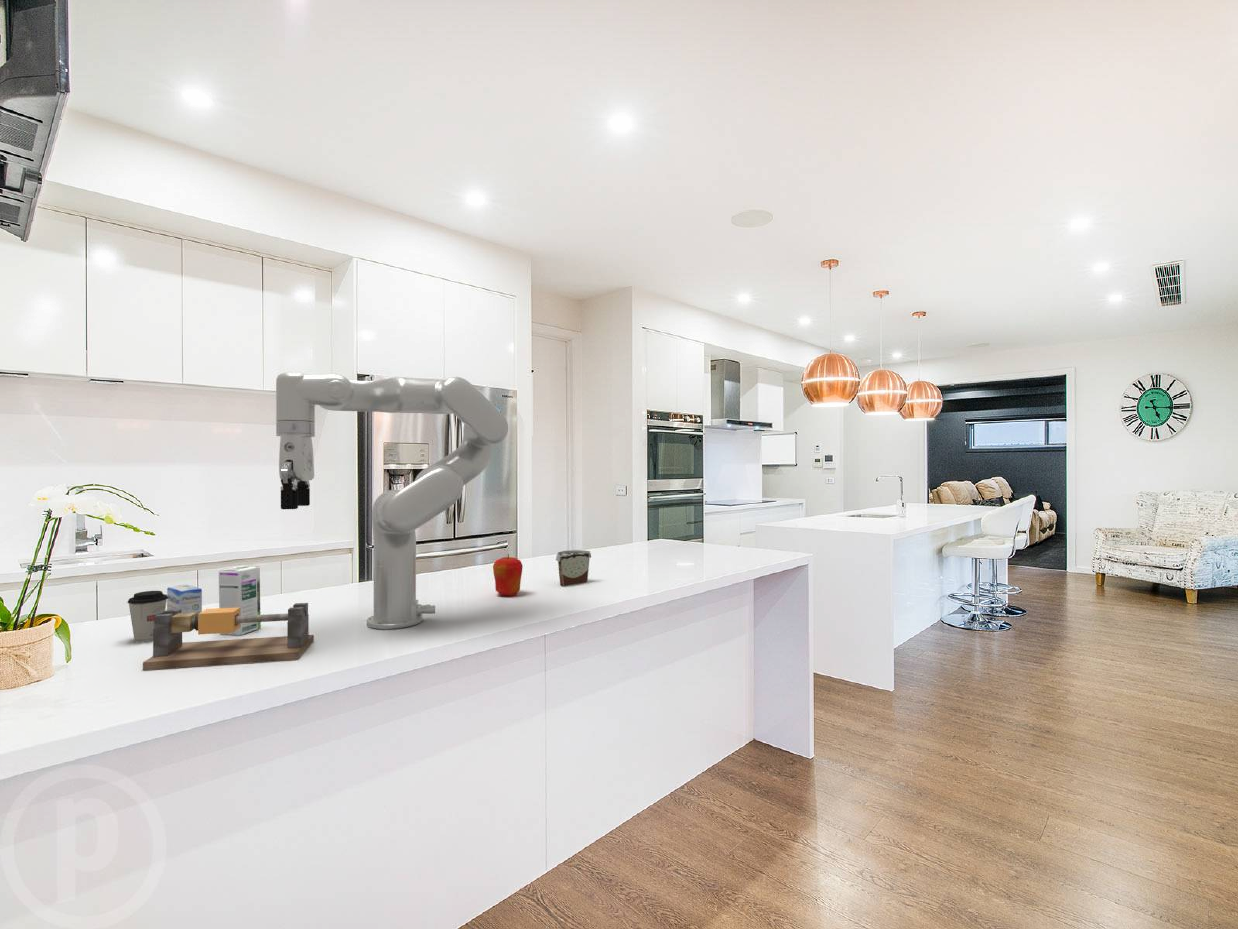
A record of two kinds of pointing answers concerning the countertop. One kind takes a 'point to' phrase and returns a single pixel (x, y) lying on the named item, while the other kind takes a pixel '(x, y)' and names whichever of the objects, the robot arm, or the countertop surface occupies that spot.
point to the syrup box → (241, 594)
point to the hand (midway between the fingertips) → (295, 507)
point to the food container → (573, 567)
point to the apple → (507, 575)
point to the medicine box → (184, 598)
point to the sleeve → (218, 620)
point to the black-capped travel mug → (146, 613)
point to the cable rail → (226, 641)
